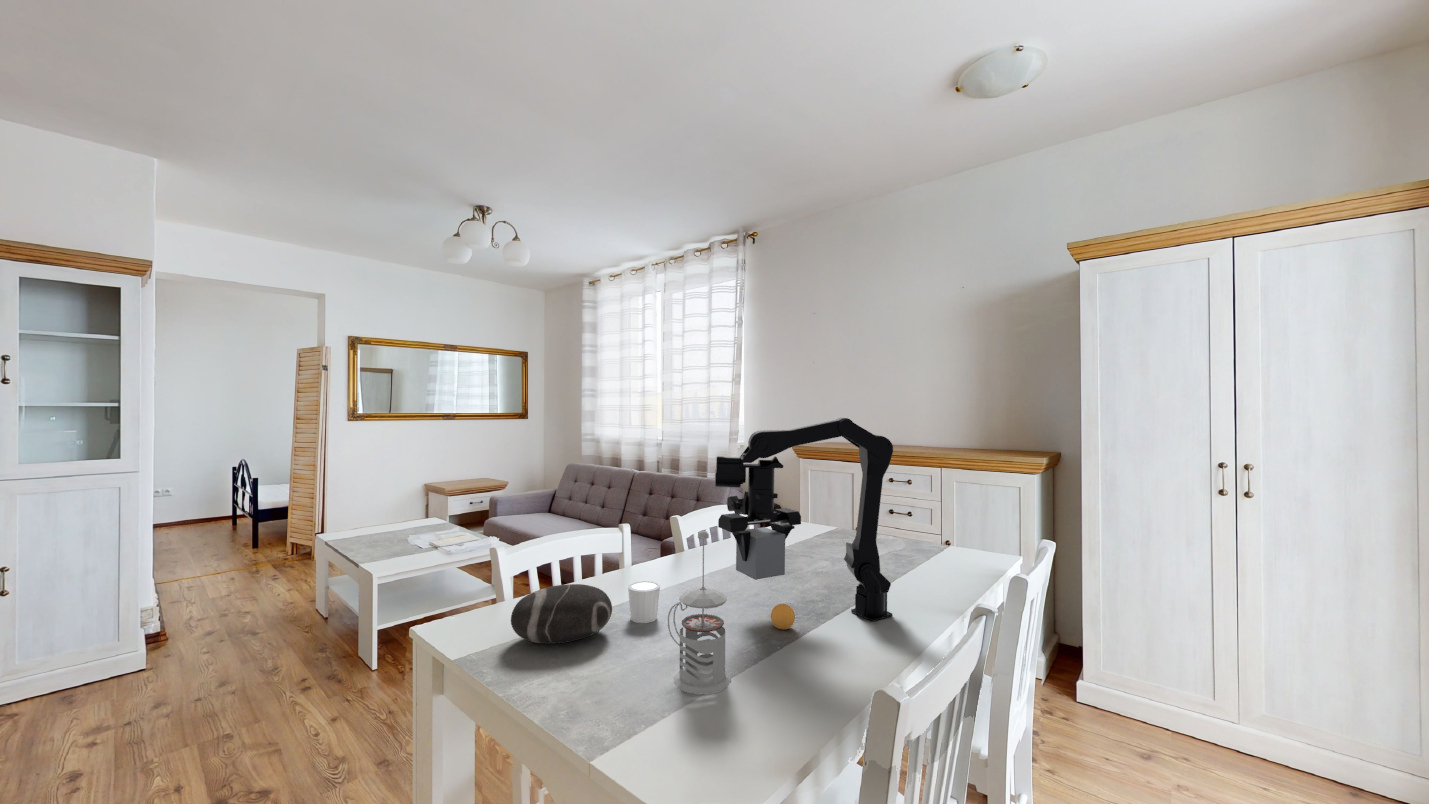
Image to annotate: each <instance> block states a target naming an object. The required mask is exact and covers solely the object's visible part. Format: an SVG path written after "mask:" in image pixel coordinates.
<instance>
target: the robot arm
mask: <svg viewBox="0 0 1429 804" xmlns="http://www.w3.org/2000/svg"><path fill="white" fill-rule="evenodd" d="M839 437H842V438H843V439H844V440H846V441H847V442H849V443H850V444H852V445H854V446H855V447H856V448H858V451H859V452H858V455H859V463H860V467H861V468H860V469H861V472H862V479H861V488H860V495H859V496H860V497H859V503H858V504H859V506H858V513H857V521H856V522H857V523H856V532H855V537H854V539H853V541H852V543H851V542H846V543H845V556H844V558H843V561H844V562H845V563H846V567H847V570H849V572H850V573H851V574H852V576H854V578H855V579H856V581H857V582H858V585H856V586H855V587H856V590H855V592H856V593H855V595H854V596H855V597H854V599H855V600H854V605H855V606H854V607H855V608H851V611H850V612H851V613H853V614H856V615H858V616H860V617H862V618H864V619H866V620H868V621H869V622H870V621H871V622H874V621H878V620H881V619H887V618H890V617H893V613H892V612H890V611H888V593H889V591H890V587H891V586H892V584H891V582H890V581H889V580H888V578H886V576H884V575H883V574H882V573H881V561H880V560H881V559H880V554H879V549H878V545H877V538H878V527H879V526H878V525H879V519H880V510H881V509H880V508H881V499H882V489H883V480H884V476H885V474H886V473H887V470H888V468H889V466H890V464H891V460H892V456H893V454H894V444H893V442H892V441H891V440H890V439H889V438H888V437H886V436H883V435H879V434H878V435H877V434H874V433H872V432H871V431H869V430H867V429H865V428H863V427H861V426H860V425H858V424H857V423H855V422H853V420H851V419H850V418H848V417H847V418H846V417H837V419H835V420H834V419H833V420H829V421H823V422H820V423H815V424H810V425H805V426H801V427H800V426H799V427H796V428H791V429H790V428H789V429H780V430H779V429H775V430H774V429H773V430H772V429H770V430H768V429H767V430H766V429H764V430H757V431H754V432H753V433H751V435H750V437H749V438H748V442H747V445H748V446H747V447H746V448H745V450H743V452H741V454H740V456H739V457H737V456H735V457H731V456H729V457H728V456H723V455H717V456H716V466H715V468H716V469H715V471H714V472H715V474H714V487H715V488H741V486H742V485H744V484H746V483H747V482H748V484H747V490H745V491H744V494H743V498H739V497H738V496H737V495H734V496H733V495H731V496H728V497H727V500H726V501H727V502H726V506H727V507H726V508H727V511H729V512H733V513H725V514H723V513H722V514H720V517H719V518H718V521H717V523H718V525H717V527H718V528H720V529H722V530H725V531H727V532H728V533H730V534H732V535H733V538H734V540H735V541H736V542H737V544H738V547H739V550H740V554H741V557H742V560H743V561H747V558H748V552H749V543H750V535H751V532H749V531H747V529H748V527H749V526H753V525H762V524H769V525H770V529H771V530H774V531H777V532H780V533H783V534H785V541H786V539H787V538H788V537H789V535H790V533H791V531H792V530H793V529H795V526H797V525H798V526H799V525H802V516H801V515H802V514H801V513H800V512H799V511H798V510H796V509H795V510H794V509H791V508H787V507H782V508H775V499H778V495H779V494H778V493H777V492H775V469H783V468H784V464H782V462H780V461H779V459H778V457H777V456H775V455H778V454H780V453H782V452H785V451H786V450H788V449H791V448H793V447H798V446H803V445H807V444H813V443H816V442H821V441H822V442H823V441H825V440H826V441H827V440H831V439H836V438H839ZM772 456H773V458H771V459H767V458H770V457H772ZM757 460H758V461H757ZM756 461H757V463H754V462H756ZM747 468H748V472H747ZM747 473H748V475H747ZM747 476H748V478H747ZM746 478H747V479H748V480H747V479H746ZM746 481H747V482H746ZM736 542H735V543H736Z"/></svg>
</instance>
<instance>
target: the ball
mask: <svg viewBox="0 0 1429 804" xmlns="http://www.w3.org/2000/svg"><path fill="white" fill-rule="evenodd" d="M770 620H771V623H772V624H773V626H774V627H775V628H777V629H779V630H789V629H790V628H791V627H792V626H794V623H795V621H796V615H795V611H794V609H793V607H791V606H790V605H789V604H786V603H779V604H776V605H775V606H774V607H773V608H772V609H771V612H770Z"/></svg>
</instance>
